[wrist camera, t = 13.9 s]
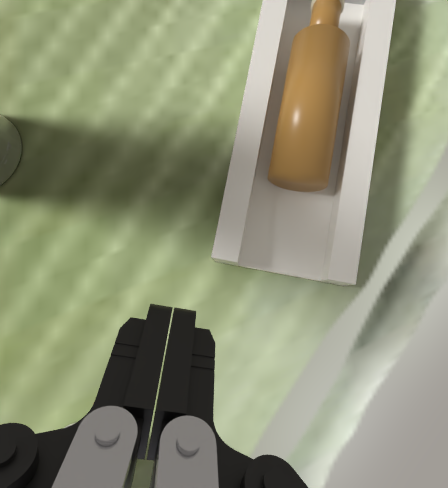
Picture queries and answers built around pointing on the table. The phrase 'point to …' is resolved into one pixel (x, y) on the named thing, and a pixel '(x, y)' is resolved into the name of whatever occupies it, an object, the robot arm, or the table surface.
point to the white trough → (343, 160)
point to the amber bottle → (311, 102)
